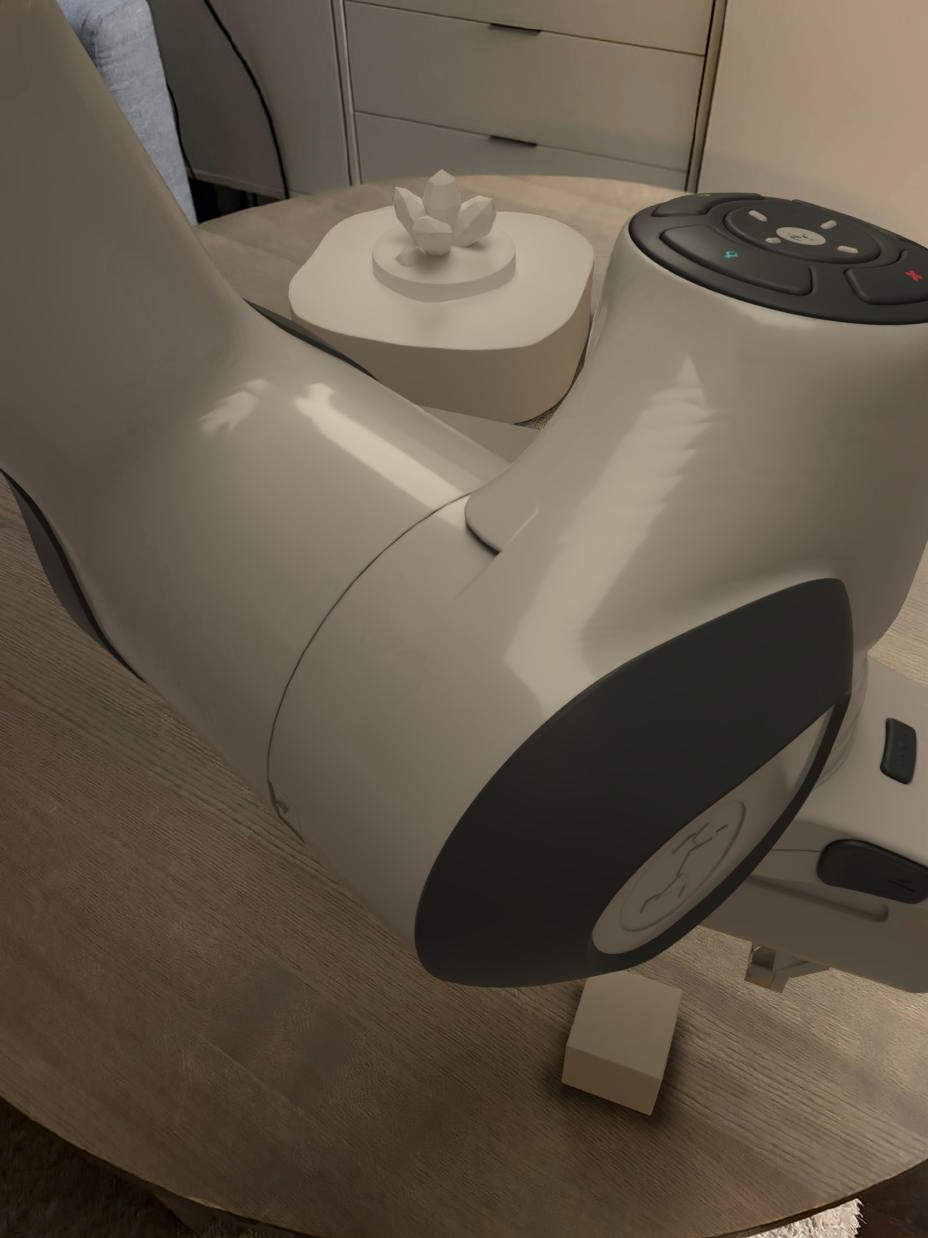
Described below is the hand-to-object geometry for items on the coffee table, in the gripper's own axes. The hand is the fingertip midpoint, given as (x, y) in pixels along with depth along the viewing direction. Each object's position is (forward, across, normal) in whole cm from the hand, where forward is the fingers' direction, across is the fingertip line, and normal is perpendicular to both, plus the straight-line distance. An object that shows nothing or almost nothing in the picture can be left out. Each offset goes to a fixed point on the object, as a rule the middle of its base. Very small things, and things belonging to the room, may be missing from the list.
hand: (648, 933), depth 43 cm
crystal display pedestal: (+13, -32, +58) cm, 67 cm away
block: (+12, 0, 0) cm, 12 cm away
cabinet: (+12, -19, +28) cm, 36 cm away
